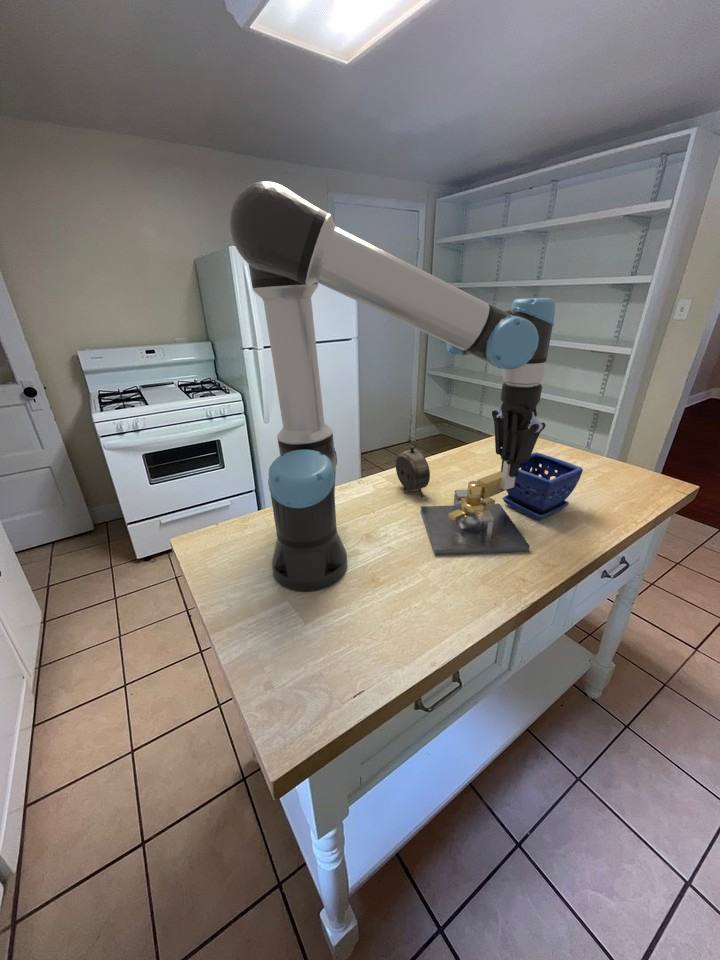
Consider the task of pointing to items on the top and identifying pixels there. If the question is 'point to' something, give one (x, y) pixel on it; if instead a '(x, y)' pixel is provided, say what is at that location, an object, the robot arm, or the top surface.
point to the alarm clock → (412, 469)
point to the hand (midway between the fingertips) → (506, 487)
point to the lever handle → (479, 496)
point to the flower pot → (542, 486)
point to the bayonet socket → (472, 530)
